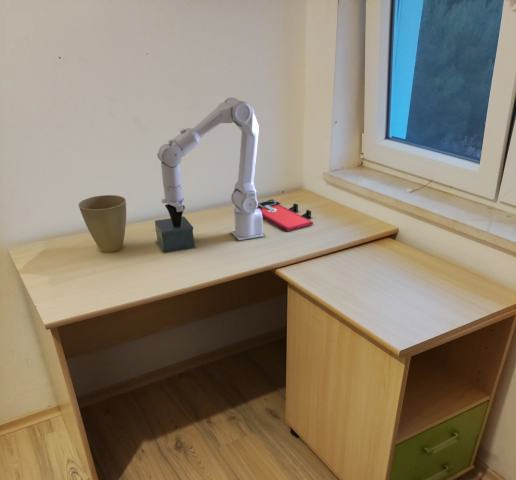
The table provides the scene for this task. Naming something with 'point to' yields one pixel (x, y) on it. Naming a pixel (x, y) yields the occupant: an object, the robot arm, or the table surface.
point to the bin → (175, 240)
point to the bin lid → (168, 227)
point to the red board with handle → (284, 215)
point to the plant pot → (105, 220)
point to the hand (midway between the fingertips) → (176, 226)
